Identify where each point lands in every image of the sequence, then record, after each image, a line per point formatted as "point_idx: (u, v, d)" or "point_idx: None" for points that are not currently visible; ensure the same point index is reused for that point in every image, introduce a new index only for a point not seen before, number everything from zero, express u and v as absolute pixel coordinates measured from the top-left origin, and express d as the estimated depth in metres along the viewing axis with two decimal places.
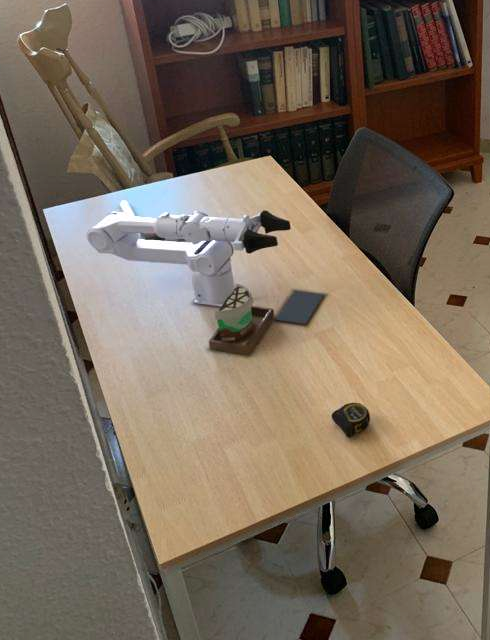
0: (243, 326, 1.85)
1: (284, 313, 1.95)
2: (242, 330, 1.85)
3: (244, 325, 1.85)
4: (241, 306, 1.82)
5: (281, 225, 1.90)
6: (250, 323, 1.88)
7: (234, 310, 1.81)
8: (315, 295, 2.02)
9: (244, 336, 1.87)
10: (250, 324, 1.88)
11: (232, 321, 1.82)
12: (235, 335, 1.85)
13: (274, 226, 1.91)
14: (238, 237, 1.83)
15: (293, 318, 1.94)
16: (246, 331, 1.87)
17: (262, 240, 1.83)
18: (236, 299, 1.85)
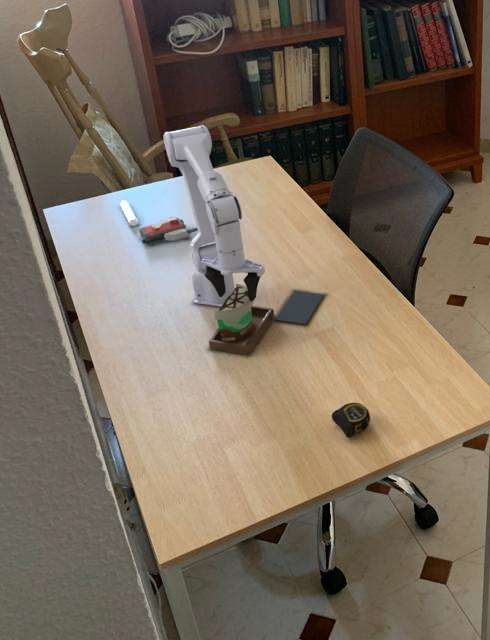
0: (243, 326, 1.85)
1: (284, 313, 1.95)
2: (242, 330, 1.85)
3: (244, 325, 1.85)
4: (241, 306, 1.82)
5: None
6: (250, 323, 1.88)
7: (234, 310, 1.81)
8: (315, 295, 2.02)
9: (244, 336, 1.87)
10: (250, 324, 1.88)
11: (232, 321, 1.82)
12: (235, 335, 1.85)
13: None
14: (208, 265, 1.79)
15: (293, 318, 1.94)
16: (246, 331, 1.87)
17: None
18: (236, 299, 1.85)
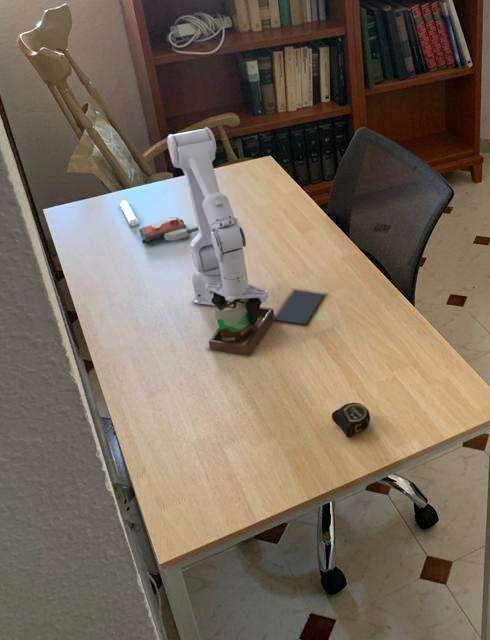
0: (243, 326, 1.85)
1: (284, 313, 1.95)
2: (242, 330, 1.85)
3: (244, 325, 1.85)
4: (241, 306, 1.82)
5: None
6: (250, 323, 1.88)
7: (234, 310, 1.81)
8: (315, 295, 2.02)
9: (244, 336, 1.87)
10: (250, 324, 1.88)
11: (232, 321, 1.82)
12: (235, 335, 1.85)
13: None
14: (212, 290, 1.83)
15: (293, 318, 1.94)
16: (246, 331, 1.87)
17: None
18: (237, 299, 1.85)
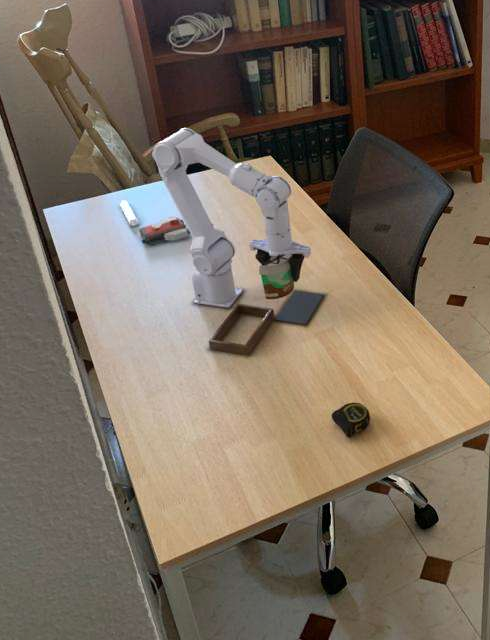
0: (286, 282, 1.88)
1: (284, 313, 1.95)
2: (285, 286, 1.88)
3: (287, 281, 1.88)
4: (285, 262, 1.85)
5: None
6: (292, 280, 1.91)
7: (278, 265, 1.84)
8: (315, 295, 2.02)
9: (287, 292, 1.90)
10: (292, 281, 1.91)
11: (276, 277, 1.85)
12: (278, 291, 1.88)
13: None
14: (256, 246, 1.86)
15: (293, 318, 1.94)
16: (289, 288, 1.90)
17: None
18: (280, 256, 1.88)
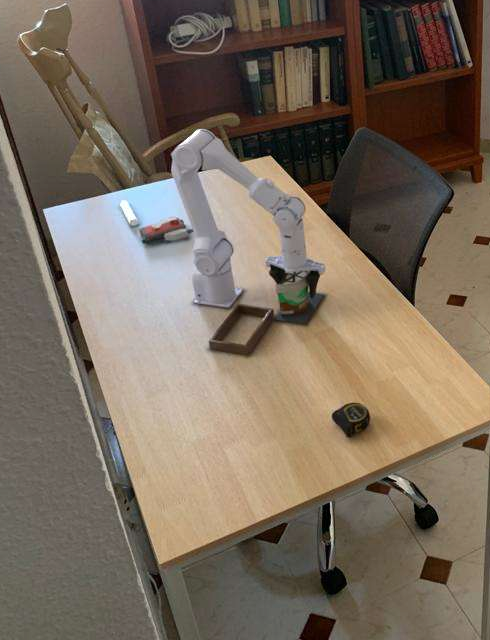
0: (301, 300, 1.94)
1: None
2: (300, 303, 1.94)
3: (302, 299, 1.94)
4: (300, 280, 1.90)
5: None
6: (307, 297, 1.96)
7: (294, 284, 1.89)
8: (315, 295, 2.02)
9: (302, 310, 1.95)
10: (307, 298, 1.96)
11: (292, 295, 1.91)
12: (293, 308, 1.93)
13: None
14: (272, 263, 1.91)
15: (293, 318, 1.94)
16: (304, 305, 1.95)
17: None
18: (295, 274, 1.94)
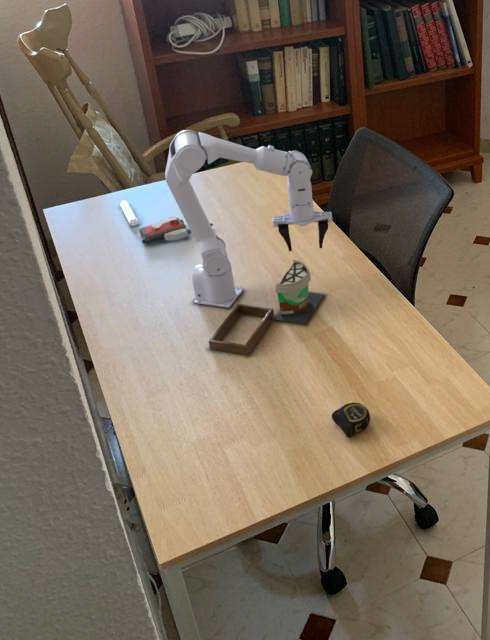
0: (301, 300, 1.94)
1: None
2: (300, 303, 1.94)
3: (302, 299, 1.94)
4: (300, 280, 1.90)
5: None
6: (307, 297, 1.96)
7: (294, 284, 1.89)
8: (315, 295, 2.02)
9: (302, 310, 1.95)
10: (307, 298, 1.96)
11: (292, 295, 1.91)
12: (293, 308, 1.93)
13: None
14: (281, 222, 1.96)
15: (293, 318, 1.94)
16: (304, 305, 1.95)
17: None
18: (295, 274, 1.93)
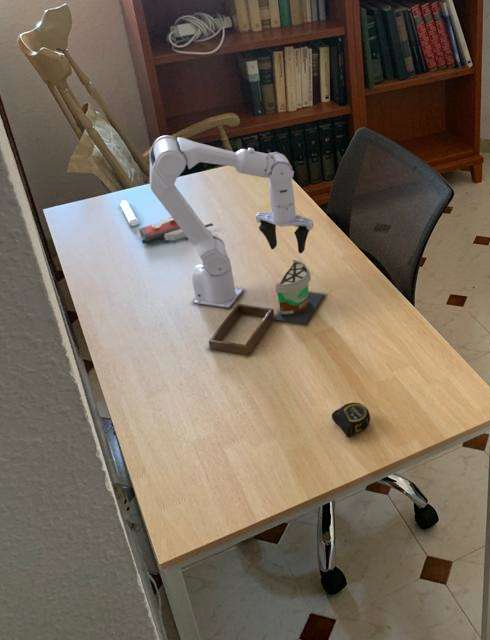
0: (301, 300, 1.94)
1: None
2: (300, 303, 1.94)
3: (302, 299, 1.94)
4: (300, 280, 1.90)
5: (273, 240, 2.01)
6: (307, 297, 1.96)
7: (294, 284, 1.89)
8: (315, 295, 2.02)
9: (302, 310, 1.95)
10: (307, 298, 1.96)
11: (292, 295, 1.91)
12: (293, 308, 1.93)
13: (271, 234, 2.00)
14: None
15: (293, 318, 1.94)
16: (304, 305, 1.95)
17: (303, 239, 1.99)
18: (295, 274, 1.93)
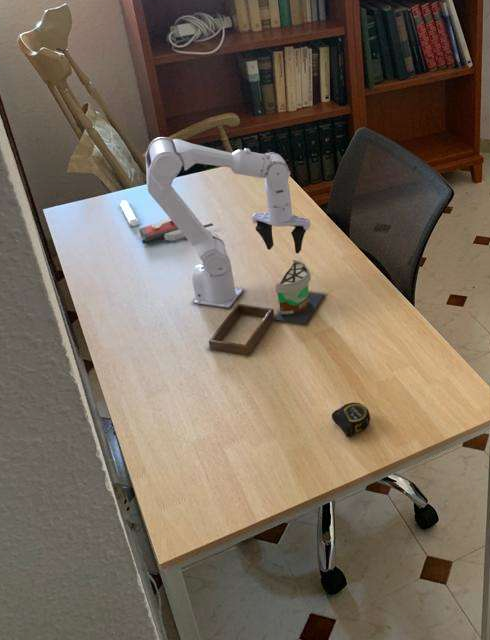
0: (301, 300, 1.94)
1: None
2: (300, 303, 1.94)
3: (302, 299, 1.94)
4: (300, 280, 1.90)
5: (270, 241, 2.01)
6: (307, 297, 1.96)
7: (294, 284, 1.89)
8: (315, 295, 2.02)
9: (302, 310, 1.95)
10: (307, 298, 1.96)
11: (292, 295, 1.91)
12: (293, 308, 1.93)
13: (268, 235, 2.00)
14: None
15: (293, 318, 1.94)
16: (304, 305, 1.95)
17: (299, 239, 1.99)
18: (295, 274, 1.93)
